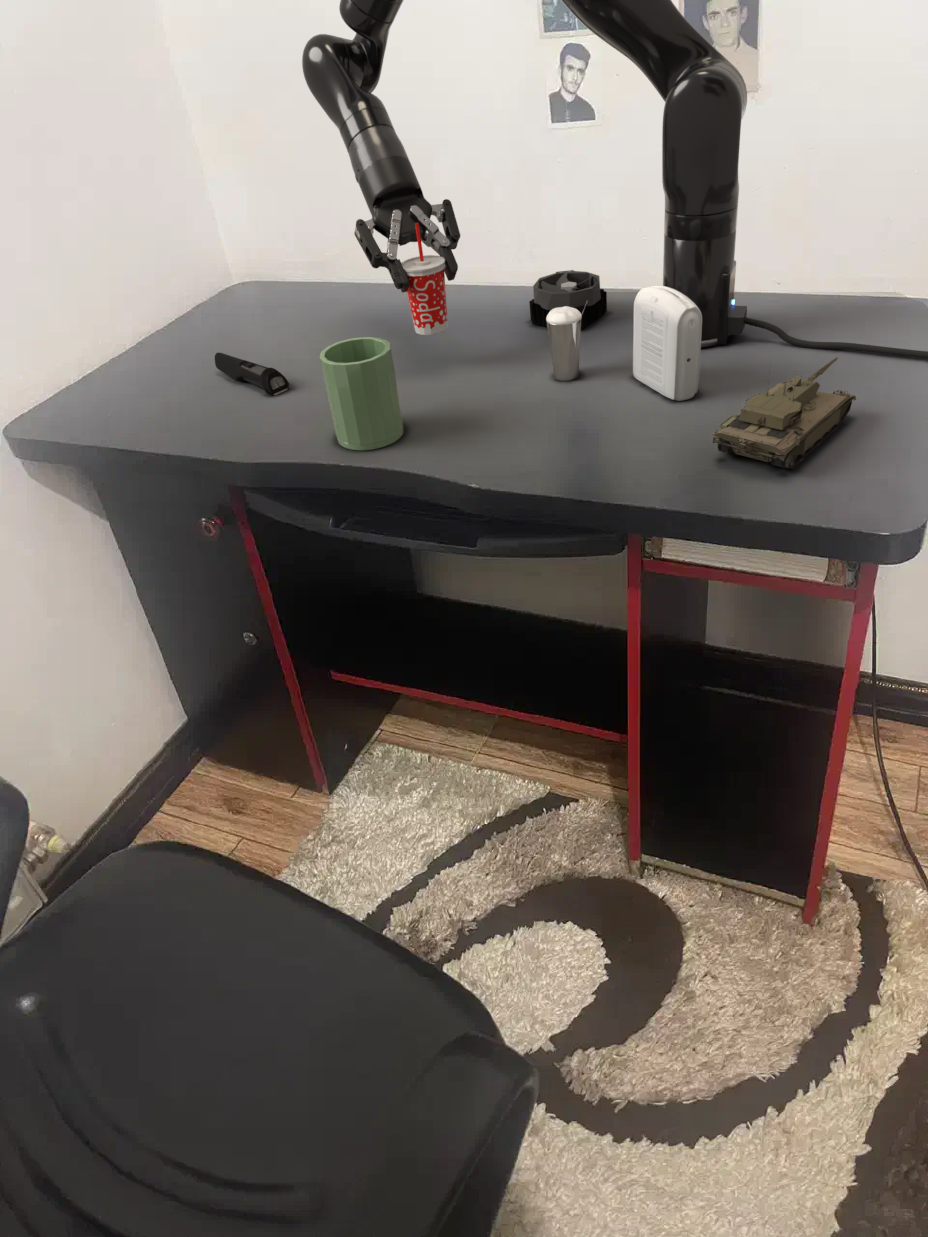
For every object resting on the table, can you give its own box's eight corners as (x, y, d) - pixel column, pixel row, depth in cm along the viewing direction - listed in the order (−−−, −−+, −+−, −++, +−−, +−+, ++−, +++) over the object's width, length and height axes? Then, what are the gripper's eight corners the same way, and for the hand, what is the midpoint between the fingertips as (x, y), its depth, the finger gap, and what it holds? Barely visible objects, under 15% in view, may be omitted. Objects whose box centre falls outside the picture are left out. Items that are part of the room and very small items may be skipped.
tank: (702, 467, 100) (707, 380, 94) (798, 390, 112) (807, 309, 106) (777, 488, 95) (787, 398, 89) (868, 404, 107) (882, 320, 101)
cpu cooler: (579, 295, 131) (519, 288, 136) (580, 334, 134) (522, 325, 139) (614, 272, 137) (555, 266, 142) (614, 310, 140) (557, 303, 146)
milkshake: (587, 382, 120) (585, 307, 114) (547, 383, 122) (543, 308, 116) (590, 368, 124) (589, 294, 118) (551, 369, 125) (547, 296, 119)
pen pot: (414, 422, 117) (401, 338, 110) (387, 452, 111) (371, 365, 104) (355, 418, 120) (339, 335, 113) (326, 448, 114) (307, 363, 107)
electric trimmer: (233, 367, 140) (227, 346, 138) (292, 387, 130) (286, 366, 128) (212, 375, 138) (206, 355, 136) (270, 397, 128) (264, 376, 126)
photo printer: (703, 395, 114) (709, 295, 106) (674, 404, 113) (678, 304, 105) (655, 369, 121) (657, 274, 114) (628, 378, 120) (628, 282, 113)
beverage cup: (402, 336, 126) (385, 230, 118) (420, 319, 130) (405, 216, 122) (443, 337, 124) (428, 229, 115) (460, 320, 128) (447, 215, 120)
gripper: (336, 165, 118) (383, 280, 116) (438, 143, 122) (484, 254, 120) (332, 201, 125) (376, 310, 123) (428, 180, 129) (472, 285, 127)
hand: (429, 282), depth 122 cm, fingers closed on beverage cup, 6 cm apart
